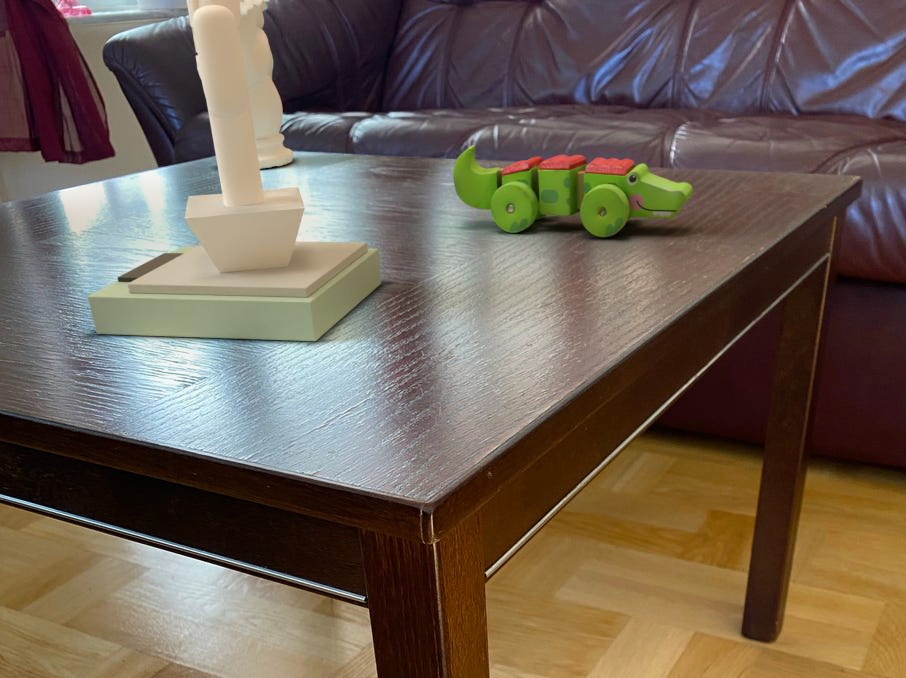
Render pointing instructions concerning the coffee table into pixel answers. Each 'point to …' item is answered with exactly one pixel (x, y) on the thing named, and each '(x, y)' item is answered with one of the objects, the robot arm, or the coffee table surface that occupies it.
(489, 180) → the toy crocodile
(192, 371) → the coffee table surface
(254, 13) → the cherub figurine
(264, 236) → the cream block with rod
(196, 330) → the scale
